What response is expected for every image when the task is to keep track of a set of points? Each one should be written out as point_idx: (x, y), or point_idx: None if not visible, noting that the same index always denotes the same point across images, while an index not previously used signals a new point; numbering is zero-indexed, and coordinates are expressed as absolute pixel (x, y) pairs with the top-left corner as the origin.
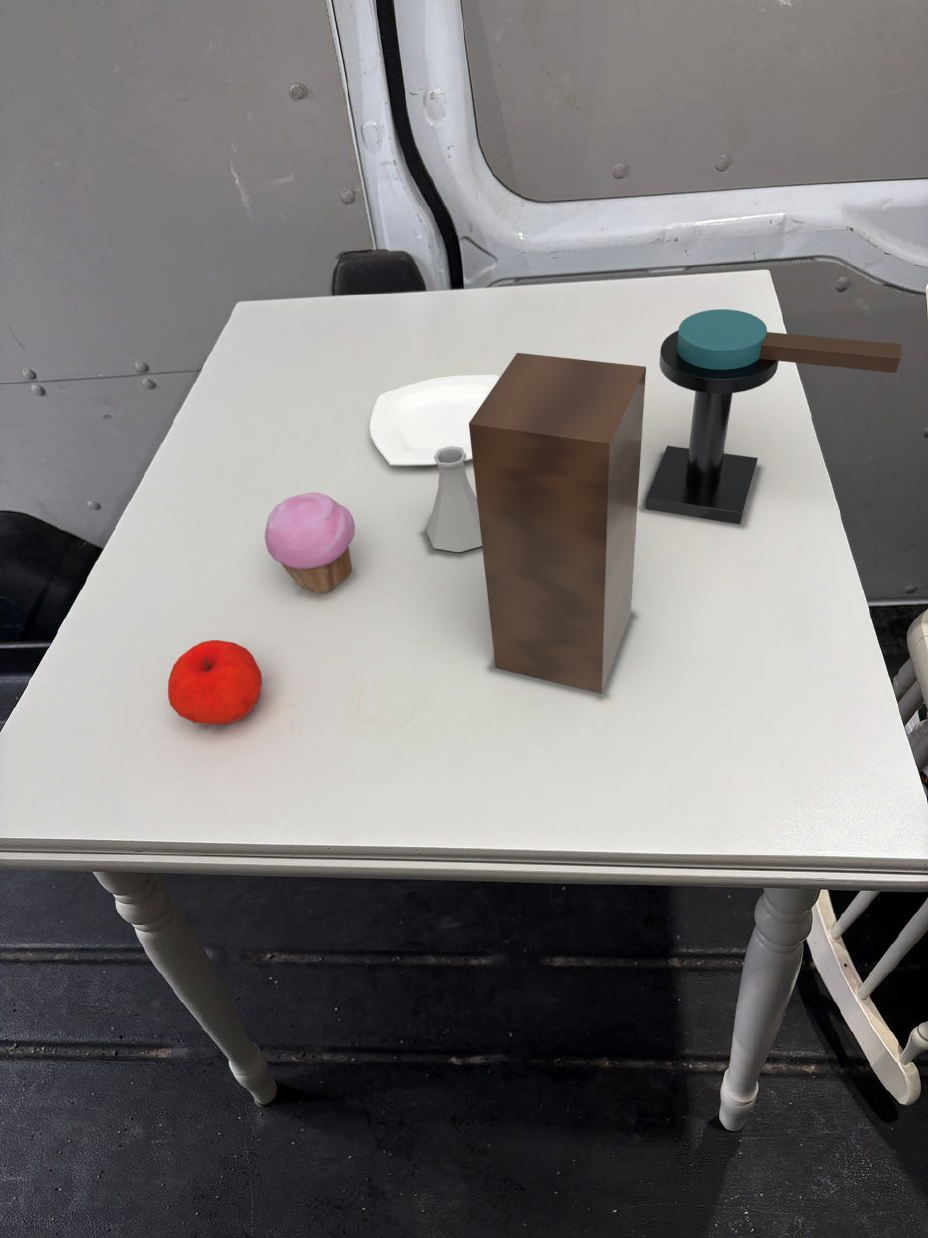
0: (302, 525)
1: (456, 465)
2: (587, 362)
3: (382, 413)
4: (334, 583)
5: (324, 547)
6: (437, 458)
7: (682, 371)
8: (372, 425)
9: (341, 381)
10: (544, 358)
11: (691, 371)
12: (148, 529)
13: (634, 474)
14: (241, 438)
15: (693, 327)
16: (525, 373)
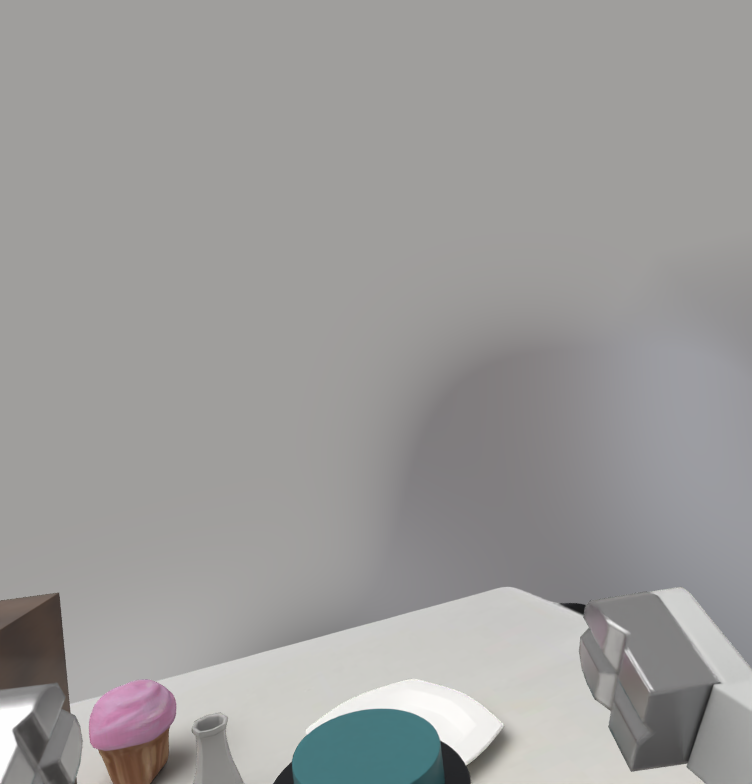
0: (106, 699)
1: (195, 734)
2: (10, 620)
3: (383, 692)
4: (119, 782)
5: (96, 729)
6: (203, 717)
7: (284, 771)
8: (360, 695)
9: (438, 659)
10: (35, 603)
11: (285, 779)
12: (206, 675)
13: None
14: (330, 657)
15: (359, 722)
16: (6, 605)
